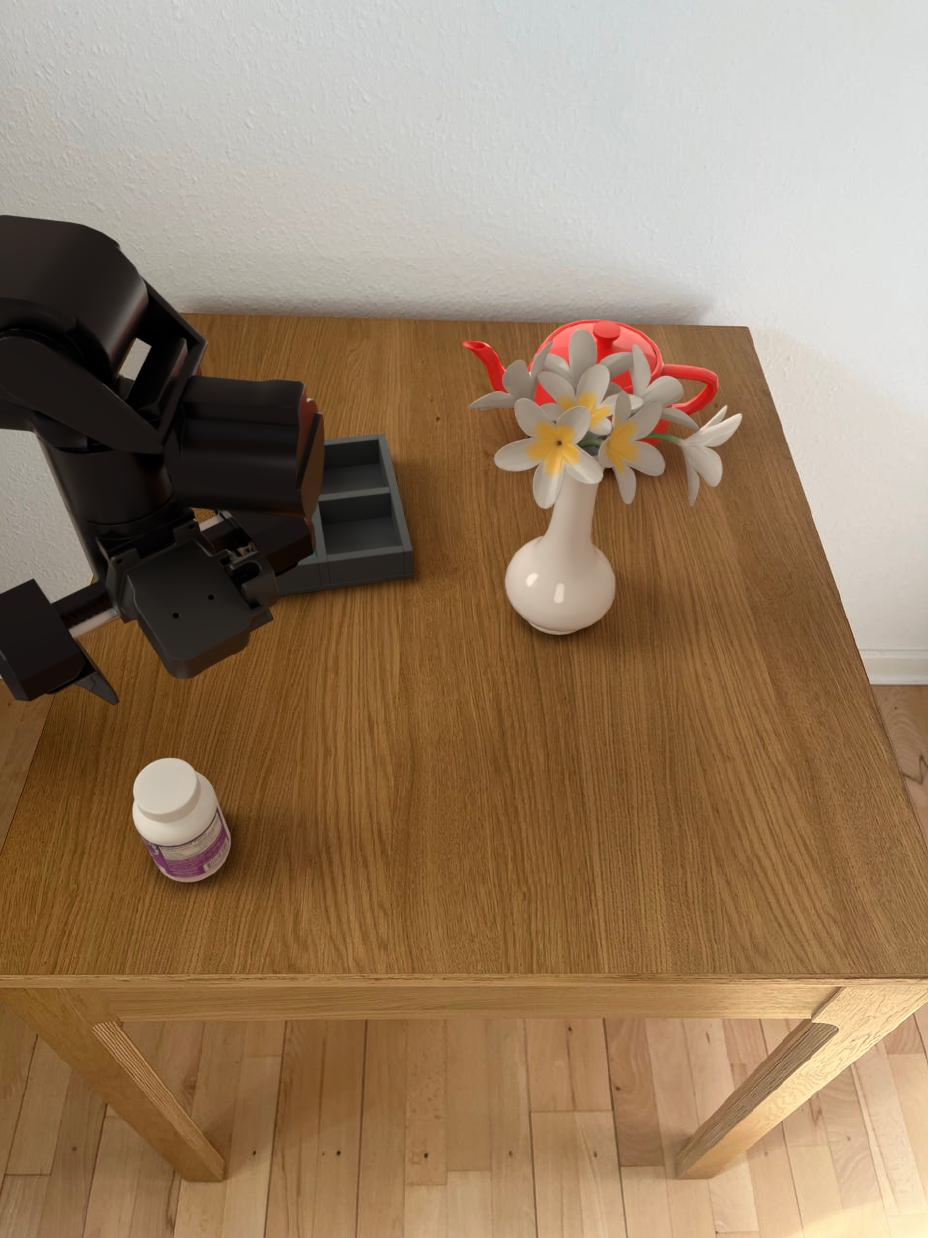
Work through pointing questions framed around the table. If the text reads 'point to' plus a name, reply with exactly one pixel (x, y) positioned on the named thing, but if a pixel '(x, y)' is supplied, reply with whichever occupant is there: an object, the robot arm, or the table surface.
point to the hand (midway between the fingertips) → (180, 663)
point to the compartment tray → (355, 521)
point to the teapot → (608, 342)
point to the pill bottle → (180, 820)
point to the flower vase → (588, 468)
